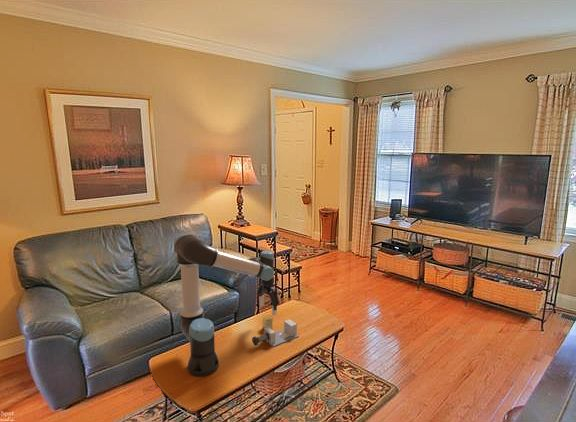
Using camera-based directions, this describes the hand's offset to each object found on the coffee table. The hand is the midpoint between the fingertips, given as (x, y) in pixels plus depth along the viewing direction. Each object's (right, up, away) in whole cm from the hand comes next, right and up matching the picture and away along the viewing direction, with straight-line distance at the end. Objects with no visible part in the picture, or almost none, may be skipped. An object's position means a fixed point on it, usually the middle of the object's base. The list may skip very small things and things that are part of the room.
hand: (268, 310), depth 205 cm
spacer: (0, -11, +2) cm, 12 cm away
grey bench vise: (+8, -13, -8) cm, 17 cm away
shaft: (-2, -13, -15) cm, 20 cm away
